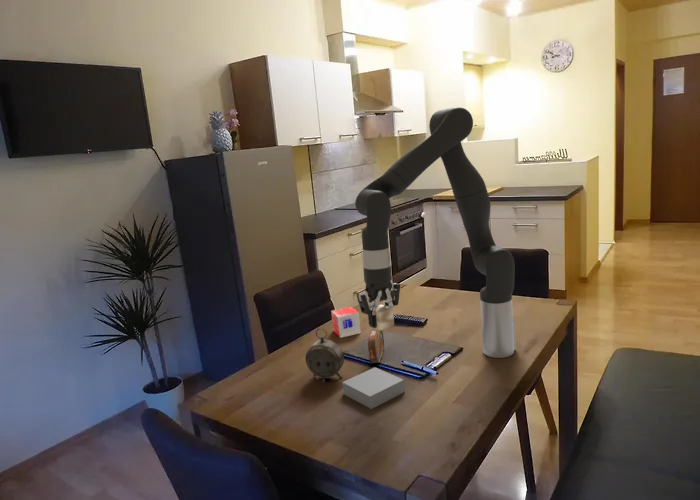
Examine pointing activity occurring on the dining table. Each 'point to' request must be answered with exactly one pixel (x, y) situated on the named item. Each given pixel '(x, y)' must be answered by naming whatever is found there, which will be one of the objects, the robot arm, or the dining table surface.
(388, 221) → the robot arm
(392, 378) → the base block
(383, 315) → the birch cube
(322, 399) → the dining table surface
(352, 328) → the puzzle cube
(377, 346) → the tin
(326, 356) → the alarm clock
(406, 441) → the dining table surface
